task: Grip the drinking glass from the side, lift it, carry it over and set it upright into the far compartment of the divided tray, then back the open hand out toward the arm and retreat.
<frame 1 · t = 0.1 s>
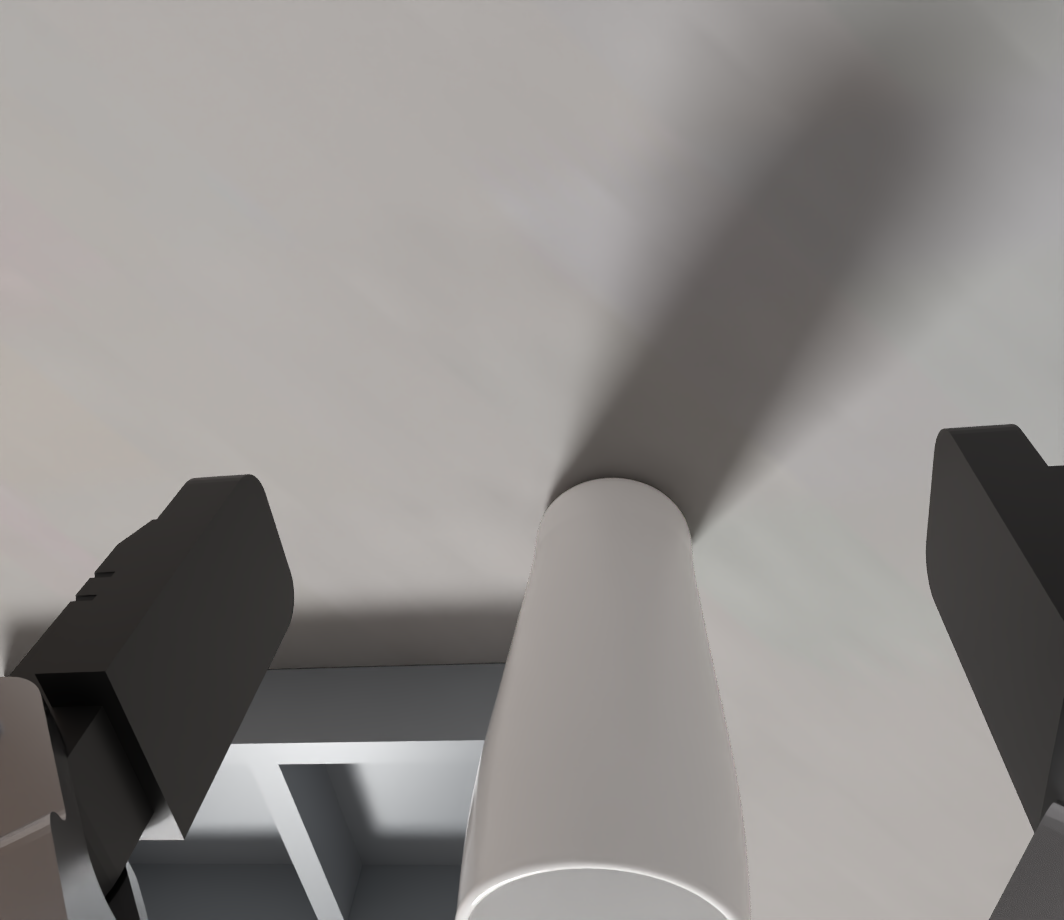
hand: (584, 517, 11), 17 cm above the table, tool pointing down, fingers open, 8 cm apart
divided tray: (325, 775, 42), on the table
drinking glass: (613, 528, 33), on the table
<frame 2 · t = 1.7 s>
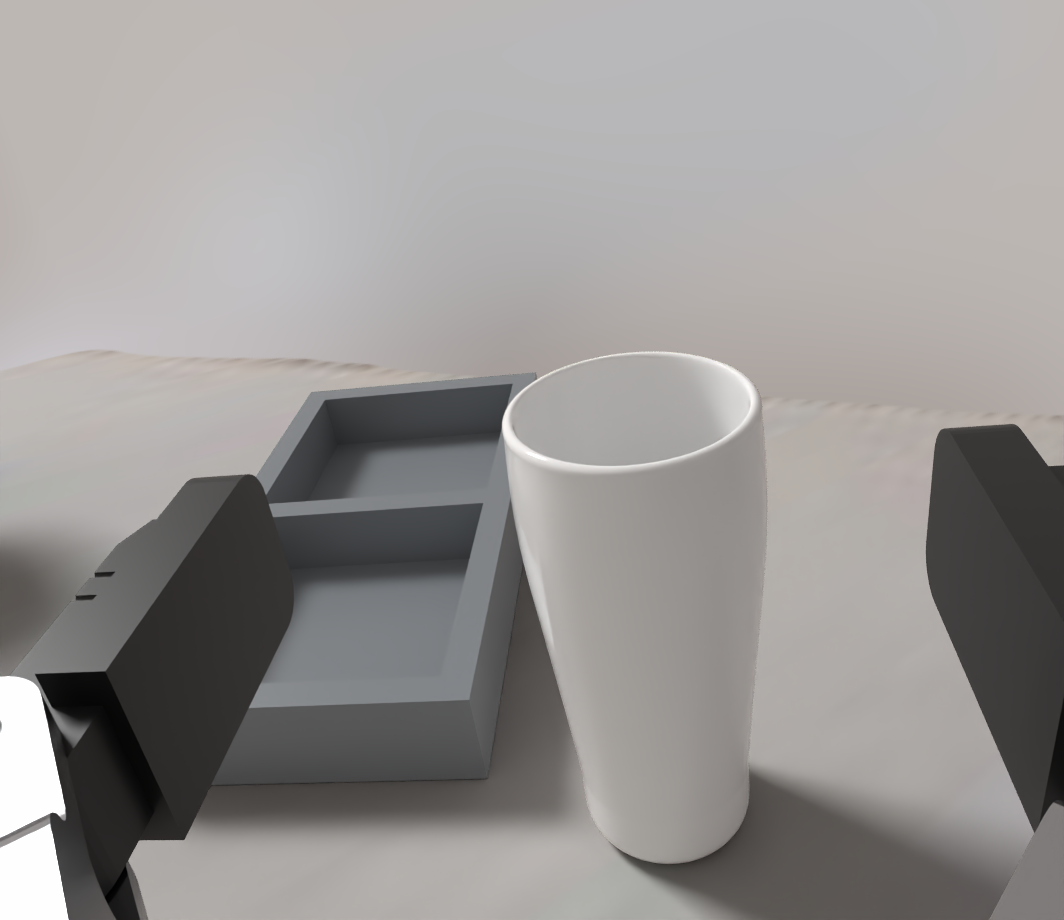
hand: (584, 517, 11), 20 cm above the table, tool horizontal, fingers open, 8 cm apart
divided tray: (386, 569, 45), on the table
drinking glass: (668, 807, 31), on the table
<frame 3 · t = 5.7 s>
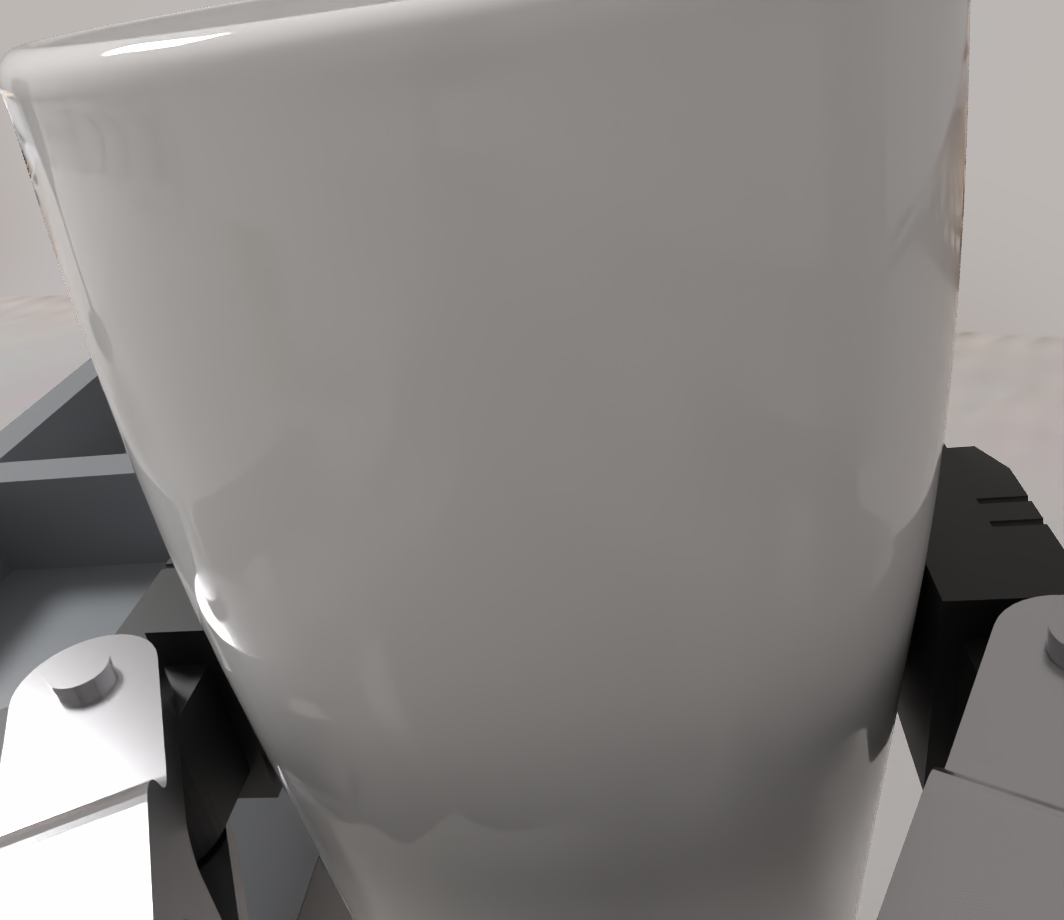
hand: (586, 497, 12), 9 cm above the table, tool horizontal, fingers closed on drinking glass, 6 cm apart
divided tray: (201, 570, 28), on the table
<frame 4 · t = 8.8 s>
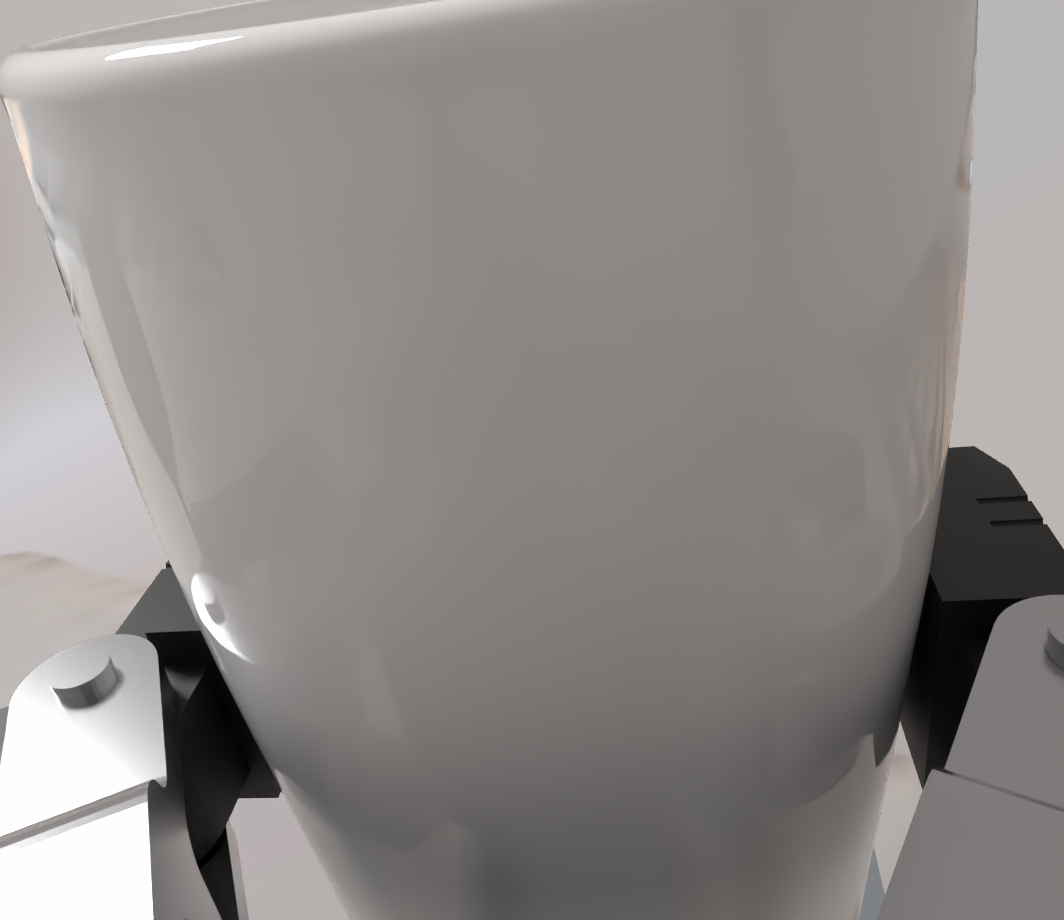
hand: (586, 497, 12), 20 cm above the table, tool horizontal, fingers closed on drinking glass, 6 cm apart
when the fingers open (11 cm above the table, at t = 11.7 s): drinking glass drops 1 cm, resting on divided tray.
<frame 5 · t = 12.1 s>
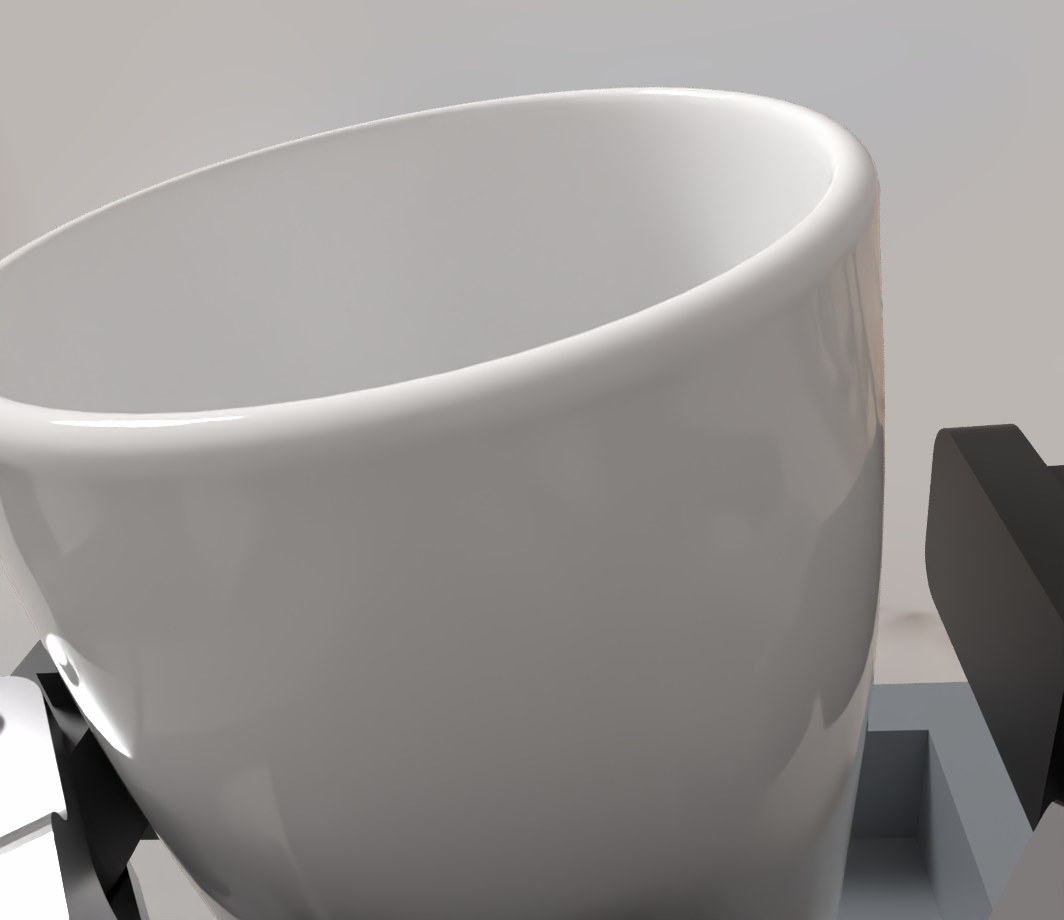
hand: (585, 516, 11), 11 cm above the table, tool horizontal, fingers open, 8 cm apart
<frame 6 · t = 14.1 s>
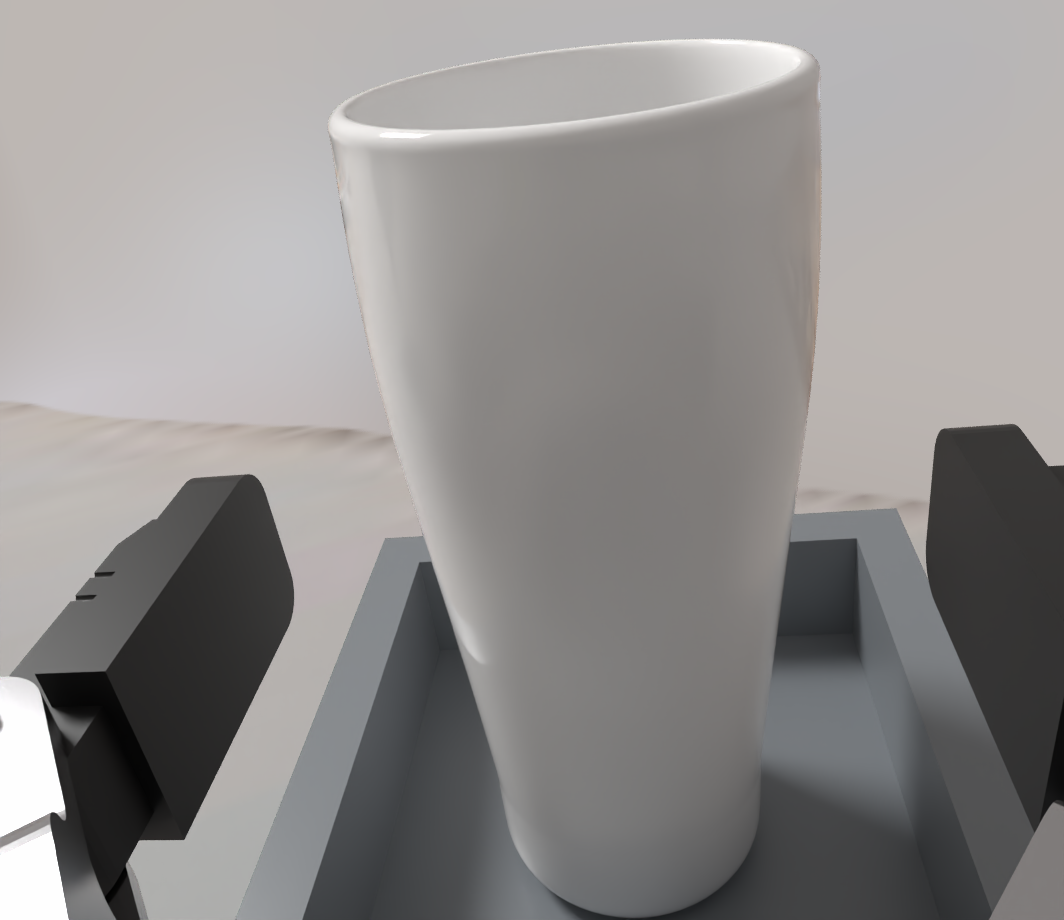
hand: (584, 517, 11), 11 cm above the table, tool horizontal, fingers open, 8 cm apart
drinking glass: (633, 824, 20), point 1 cm above the table, touching divided tray
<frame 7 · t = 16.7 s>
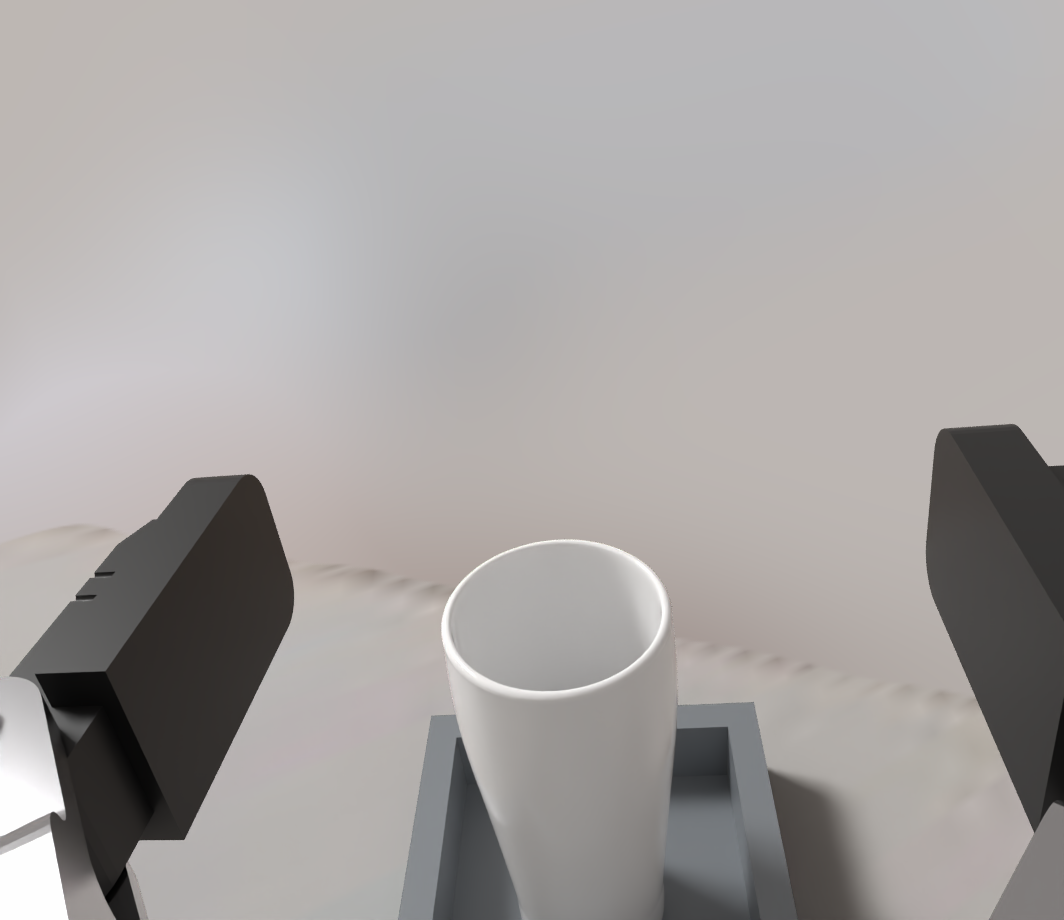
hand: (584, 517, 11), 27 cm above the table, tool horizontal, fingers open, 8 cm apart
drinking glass: (593, 912, 35), point 1 cm above the table, touching divided tray
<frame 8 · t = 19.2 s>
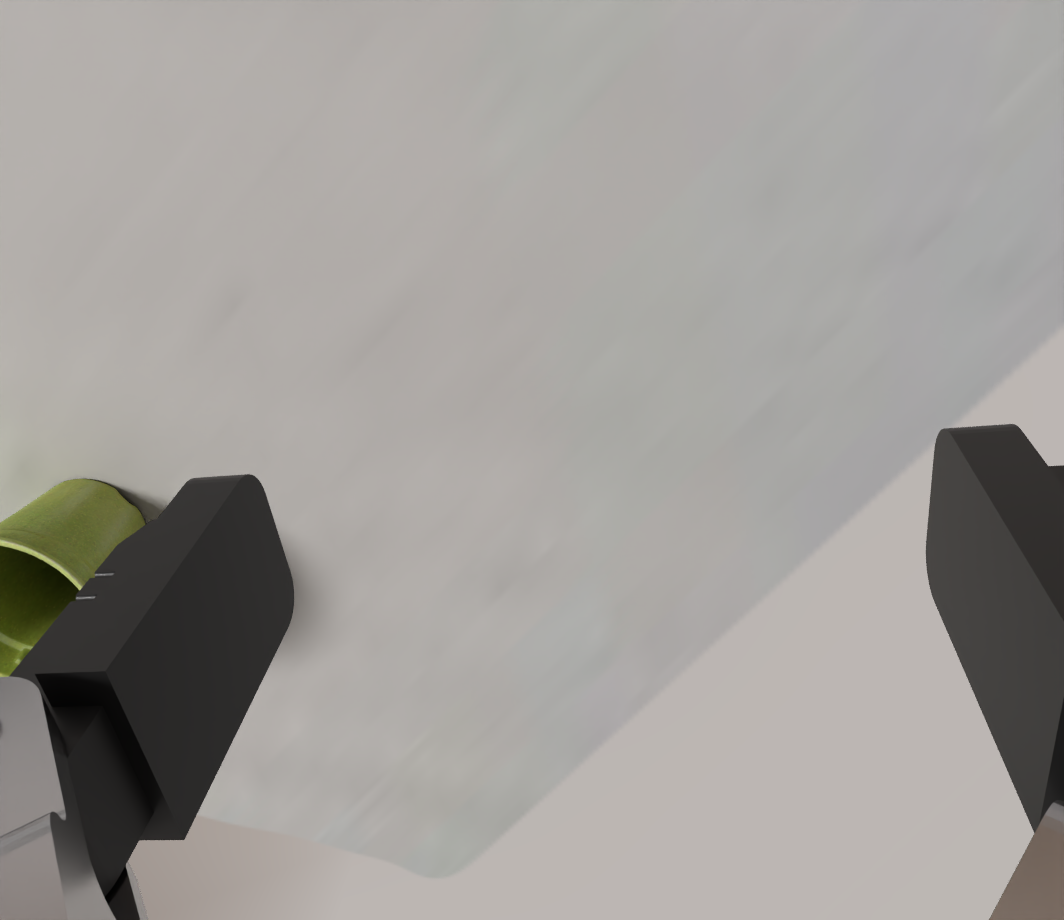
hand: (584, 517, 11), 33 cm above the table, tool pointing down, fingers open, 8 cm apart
plant pot: (98, 519, 54), on the table
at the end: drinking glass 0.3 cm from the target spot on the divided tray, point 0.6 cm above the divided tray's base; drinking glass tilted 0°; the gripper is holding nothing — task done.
